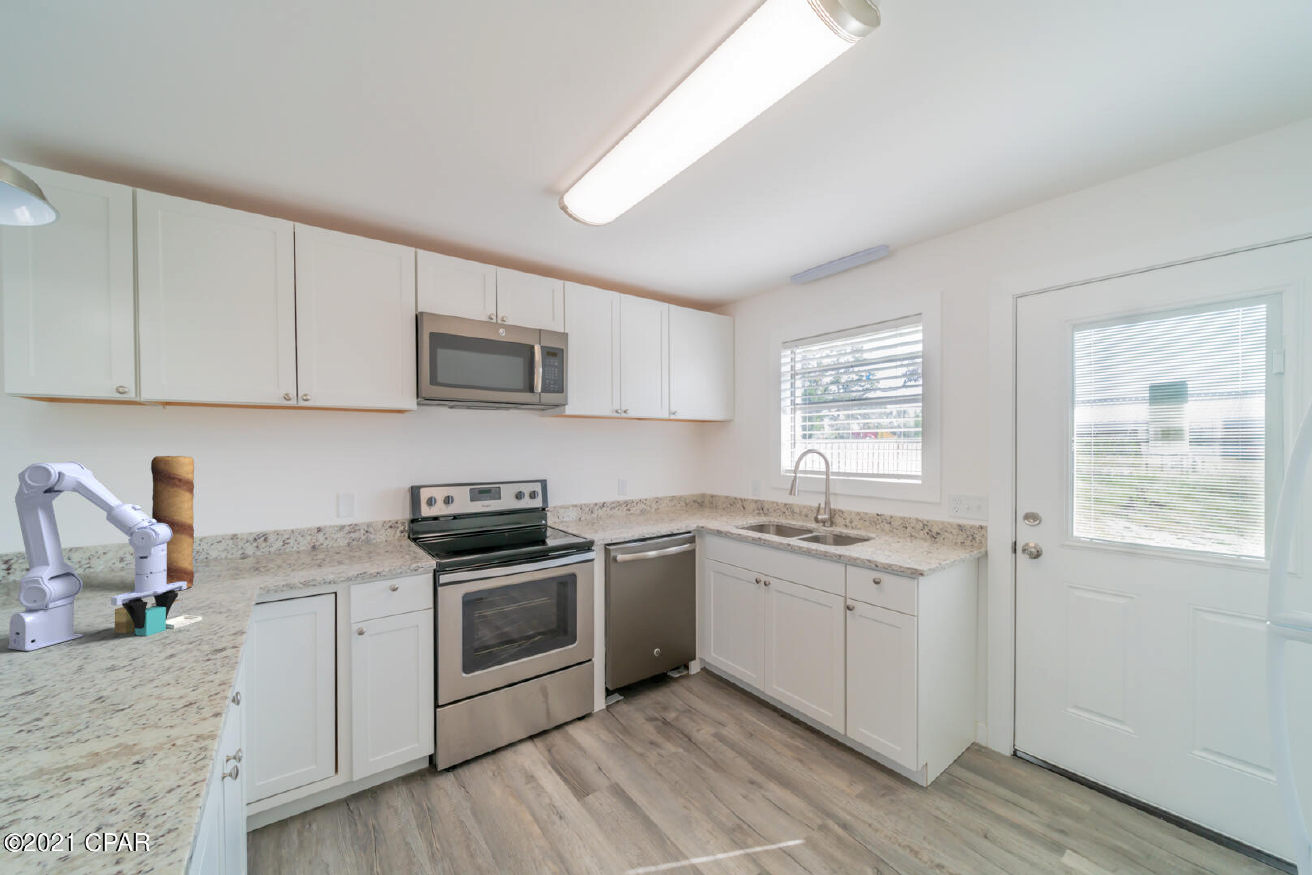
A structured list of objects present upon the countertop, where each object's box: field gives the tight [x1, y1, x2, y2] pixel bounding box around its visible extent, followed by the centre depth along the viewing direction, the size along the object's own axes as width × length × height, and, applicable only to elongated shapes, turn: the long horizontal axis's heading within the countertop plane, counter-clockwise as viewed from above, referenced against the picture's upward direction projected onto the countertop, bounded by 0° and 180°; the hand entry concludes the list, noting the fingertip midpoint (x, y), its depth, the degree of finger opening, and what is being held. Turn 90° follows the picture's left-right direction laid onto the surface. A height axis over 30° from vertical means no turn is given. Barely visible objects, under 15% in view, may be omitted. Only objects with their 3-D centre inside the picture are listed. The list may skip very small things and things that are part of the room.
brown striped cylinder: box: [150, 455, 195, 592], centre depth 167 cm, size 10×11×45 cm
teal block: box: [134, 606, 167, 637], centre depth 127 cm, size 4×4×6 cm
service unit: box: [150, 599, 183, 620], centre depth 136 cm, size 4×5×5 cm
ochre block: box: [114, 606, 135, 634], centre depth 129 cm, size 4×4×6 cm
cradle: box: [166, 614, 203, 630], centre depth 133 cm, size 6×6×1 cm
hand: (150, 624), depth 127 cm, fingers closed on teal block, 4 cm apart
